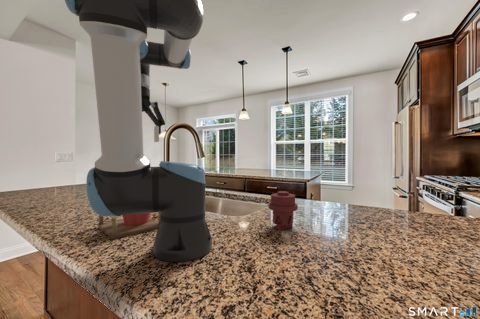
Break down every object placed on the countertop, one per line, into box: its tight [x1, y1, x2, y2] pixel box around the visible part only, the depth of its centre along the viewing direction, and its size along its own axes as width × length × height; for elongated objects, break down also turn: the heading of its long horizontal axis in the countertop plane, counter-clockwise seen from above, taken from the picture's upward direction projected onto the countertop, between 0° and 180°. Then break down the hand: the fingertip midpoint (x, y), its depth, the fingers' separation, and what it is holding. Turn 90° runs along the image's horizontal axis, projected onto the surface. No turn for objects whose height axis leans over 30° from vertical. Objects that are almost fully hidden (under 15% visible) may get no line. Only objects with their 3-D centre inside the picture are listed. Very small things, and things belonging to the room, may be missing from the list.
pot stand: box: [97, 212, 160, 240], centre depth 78 cm, size 16×16×6 cm
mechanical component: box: [268, 190, 299, 231], centre depth 78 cm, size 12×10×10 cm
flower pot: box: [122, 213, 151, 226], centre depth 79 cm, size 11×11×10 cm
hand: (140, 141), depth 88 cm, fingers open, 13 cm apart
